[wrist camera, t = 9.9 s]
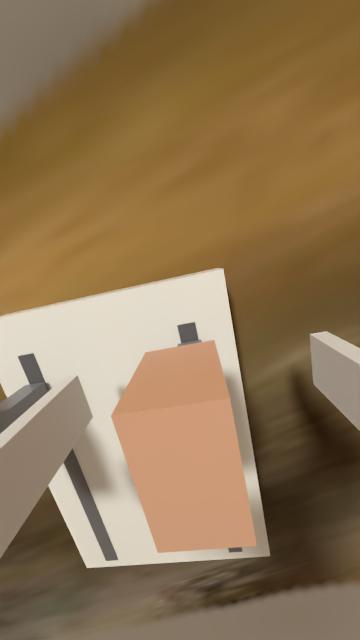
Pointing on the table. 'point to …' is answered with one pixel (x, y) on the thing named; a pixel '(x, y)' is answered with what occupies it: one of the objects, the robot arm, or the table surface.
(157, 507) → the fader
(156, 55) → the table surface
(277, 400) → the table surface
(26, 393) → the fader
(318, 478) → the table surface
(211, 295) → the fader panel
